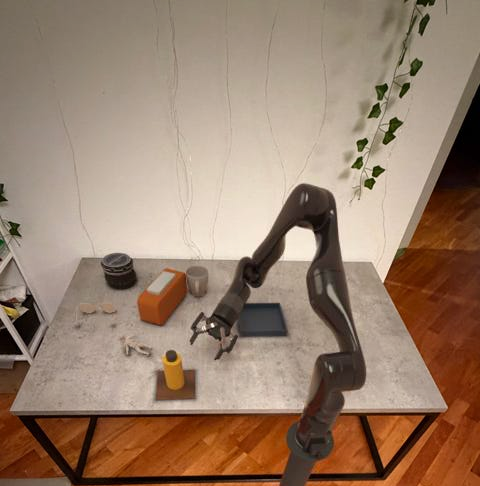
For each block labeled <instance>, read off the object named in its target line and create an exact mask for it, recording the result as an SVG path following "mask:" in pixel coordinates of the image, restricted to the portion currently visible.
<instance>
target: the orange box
mask: <svg viewBox="0 0 480 486" xmlns="http://www.w3.org/2000/svg"><path fill="white" fill-rule="evenodd" d="M187 294H188V283H187V278H186V272H184V271H179V270H176V269H172V268H167V267H165V268H164V269H163V270H162V271H160V273H159V274H158V275H157V276H156V277H155V278H154V280H152V282H151V283H150V284H149V285H148V286H147V287H146V288H145V289H144V290H143V291H142V292H141V293H140V294H139V295H138V297H137V300H136V303H137V304H136V305H137V309H138V313H139V317H140V320H141V321H143V322H147V323H151V324H154V325H157V326H163V325H164V324H165V323H166V322H167V321H168V320H169V318H170V317H171V315H172V314H173V313H174V311H175V310H176V309H177V308H178V306H179V305H180V304H181V302H182V301H183V300H184V299H185V297H186V296H187Z"/></svg>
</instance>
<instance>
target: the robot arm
mask: <svg viewBox="0 0 480 486" xmlns="http://www.w3.org/2000/svg"><path fill="white" fill-rule="evenodd" d="M295 227H297V228H300V229H304V230H309V231H311V232H312V233H313V236H314V240H315V253H314V255H313V257H312V260H311V262H310V264H309V266H308V268H307V270H306V271H307V272H306V274H305V275H306V276H305V282H306V291H307V296H308V302H309V305H310V307H311V309H312V310H313V312H314V314H316V316H317V317H318V318H319V319H320V320H321V321H322V322H323V324H324V325H325V326H326V327H327V328H328V329H329V331H330V332H331V333H332V335H333V336H334V339H335V340H336V343H337V346H338V349H339V351H335V352H334V351H333V352H326V353H325V352H323V353H320V354H319V355H318V356H317V358H316V359H315V362H314V364H313V368H312V373H311V376H310V377H311V378H310V382H309V384H308V385H309V386H308V391H307V392H308V393H307V398H306V401H305V404H304V405H303V406H304V407H303V410H302V412H301V415H300V418H299V420H298V421H299V425H298V428H297V430H296V433H295V441H296V443H297V445H298V446H299V447H300V448H301V449H302V450H303V452H304V453H309V452H310V454H311V455H316V457H317V458H318V459H320V457H321V455H325V454H326V452H327V450H328V448H327V444H328V442H329V440H330V438H331V436H332V435H333V432H332V431H333V429H334V427H335V425H336V423H337V422H338V419H339V417H340V415H341V413H342V411H343V409H344V407H345V403H346V399H345V398H346V397H345V395H344V393H345V392H355V391H358V390H359V391H360V390H362V388H364V386H365V385H366V382H367V365H366V359H365V356H364V353H363V349H362V345H361V341H360V339H359V336H358V332H357V328H356V325H355V320H354V316H353V311H352V306H351V299H350V293H349V287H348V280H347V275H346V271H345V267H344V261H343V255H342V248H341V242H340V235H339V234H340V233H339V219H338V208H337V201H336V198H335V196H334V194H333V193H332V192H331V191H330V190H329V189H327V188H324V187H321V186H317V185H313V184H311V183H307V182H303V183H302V182H301V183H299V184H297V185H296V186H295V187H294V188H293V189H292V191H291V192H290V193H289V195H288V197H286V200H285V202H284V204H283V205H282V207H281V209H280V211H279V213H278V215H277V216H276V219H275V220H274V222H273V224H272V226H271V228H270V230H269V232H268V233H267V235H266V236H265V238H264V239H263V240H262V242H261V243H260V244H259V245H258V246H257V247H256V249H255V250H254V251H253V253H252V254H251V257H250V256H242V257H241V258H240V259H239V260H238V262H237V264H236V267H235V270H234V274H233V278H232V282H231V284H230V285H229V287H228V289H227V291H226V292H225V293H224V295H223V296H222V298H221V299H220V300H219V302H218V303H217V305H216V307H214V310H213V312H212V313H211V315H210V316H209V317H208V316H207V315H205V312H204V311H201V312H200V313H199V314H198V315H197V317H196V318H195V320H194V321H193V322H192V324H191V325H190V331H192V332H193V334H192V336H191V337H190V339H189V343H190V344H189V345H191V346H193V345H194V343H195V341H196V339H198V336H200V335H202V334H206V333H207V335H208V336H210V337H212V338H213V339H214V340H218V344H219V350H218V352H217V353H216V355H215V357H214V358H213V360H214V361H219V360H220V359H221V358H222V357H223V355H224V353H226V354H230V353H231V352H232V351H233V349H234V347H235V345H236V343H237V341H238V339H239V335H238V334H234V333H232V329H233V327H234V326H235V324H236V322H237V320H239V318H238V317H239V315H240V313H241V312H242V309H243V307H244V305H245V303H248V300H249V298H250V297H251V295H252V293H251V291H252V290H251V288H252V289H259V288H261V287H262V286H263V285H264V284H265V282H266V279H267V277H268V274H269V272H270V270H271V269H272V268H273V266H274V265H276V264H277V262H279V260H280V259H281V258H282V256H283V255H284V252H285V250H286V244H287V242H286V241H287V234H288V233H289V232H290V231H291V230H292V229H293V228H295ZM250 287H251V288H250ZM204 321H205V325H203V326H200V327H198V325H199V323H200V322H201V323H202V322H204ZM228 337H229V341H230V342H229V345H228V346H227V339H226V338H228Z"/></svg>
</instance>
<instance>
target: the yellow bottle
mask: <svg viewBox="0 0 480 486" xmlns="http://www.w3.org/2000/svg"><path fill="white" fill-rule="evenodd" d="M161 358H162V359H161V360H162V366H163V371H164V372H165V377H166V382H167V386H168V387H169V388H170V389H173V390H178V389H180V388H182V387H183V386H184V375H183V370H184V368H183V359H182V355H181V354H179V353H178V352H177V351H176V350H174V349H169V350H167V351H166V352H165V354H164V355H163V356H162V357H161Z"/></svg>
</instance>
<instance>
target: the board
mask: <svg viewBox="0 0 480 486" xmlns="http://www.w3.org/2000/svg"><path fill="white" fill-rule="evenodd" d="M183 375H184V386H183V387H182V388H180V389H178V390H173V389H170V388H169V387H168V386H167V382H166V377H165V372H164V370H157V377H156V388H155V389H156V390H155V401H168V400H169V401H171V400H173V401H174V400H176V401H177V400H195V399H196V397H195V395H196V394H195V390H196V389H195V388H196V387H195V369H183Z"/></svg>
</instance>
